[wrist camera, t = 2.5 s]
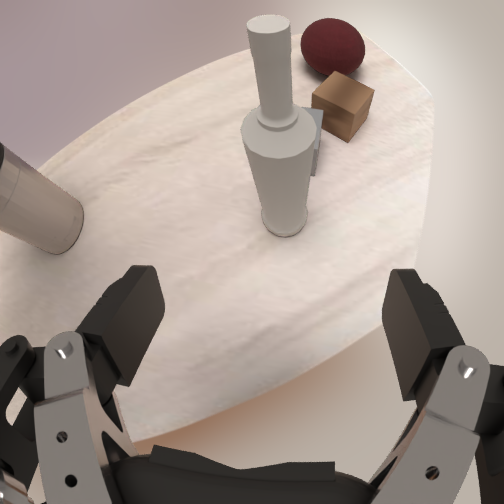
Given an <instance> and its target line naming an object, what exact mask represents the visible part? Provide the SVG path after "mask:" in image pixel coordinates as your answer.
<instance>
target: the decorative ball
mask: <svg viewBox="0 0 504 504" xmlns="http://www.w3.org/2000/svg"><path fill="white" fill-rule="evenodd" d="M301 51H302V54H303V57H304V58H305V60H306V62H307V63H308V64H309V65H310V66H311V67H312V68H313V69H315V70H316V71H318V72H320V73H322V74H325V75H329V76H330V75H331V74H332V73H333V72H334V71H336V72H338V73H341V74H343V75H347V74H349V73H352V72H353V71H355V70H356V69H357V68H358V67H359V66H360V64H361V63H362V62H363V59H364V55H365V45H364V41H363V39H362V37H361V35H360V33H359V32H358V31H357V30H356V29H355V28H354V27H353V26H352V25H350V24H349V23H347V22H345V21H342V20H339V19H333V18H325V19H321V20H318V21H315V22H313V23H312V24H311V25H309V26H308V27H307V28H306V30H305V31H304V33H303V35H302V38H301Z"/></svg>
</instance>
